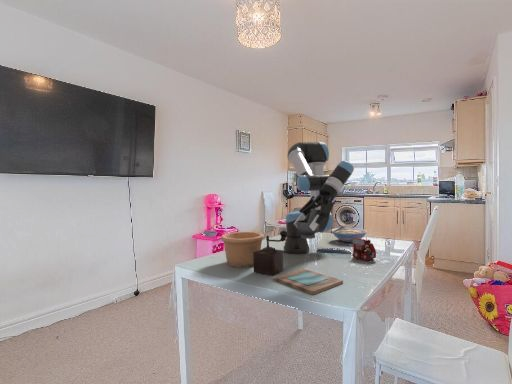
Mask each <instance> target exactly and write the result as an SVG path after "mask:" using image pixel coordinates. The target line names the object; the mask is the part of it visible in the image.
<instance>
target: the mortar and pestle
mask: <svg viewBox="0 0 512 384" xmlns="http://www.w3.org/2000/svg"><path fill="white" fill-rule="evenodd" d="M316 212H317V210H316V209H311V213H310V216H309V219H308V220H300V221H297V229H298V231H299V232H300V233H301V238H304V239H307V240H309V239H315V238H316V232H317V231H318V229H319V224H318V226H317V227H316V229H315V230H314V231H312V230H311V228H310V227H309V226H310V224H311V223H312V222H313V220H314V219H315V215H316Z"/></svg>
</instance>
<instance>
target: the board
mask: <svg viewBox="0 0 512 384" xmlns="http://www.w3.org/2000/svg"><path fill="white" fill-rule="evenodd" d="M272 277H273V278H272V280H273V281H275V280H276V281H275V282H278V283H280V282H281V284H283V283H284V284H283V285H286V286H289V287H291V288H294V289H297V290H300V291H302V292H305V293H307V294H311V295H316V294H319V293H322V292H324V291H326V290H329V289H332V288H335V287H337V286H340V285H342V284H344V280H342V279H339V278H337V277H332V276H330V275H327V274H323V273H320V272H315V271H312V270H308V269H305V268H300V269H296V270H292V271H289V272H287V273H283V274H280V275H276V276H275V275H274V276H272Z"/></svg>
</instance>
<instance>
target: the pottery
mask: <svg viewBox="0 0 512 384" xmlns="http://www.w3.org/2000/svg"><path fill="white" fill-rule="evenodd" d="M264 239H265V235H264V234H263V233H261V232H256V231H234V232H227V233H224V234H222V235H221V236H220V240H221V241H222V242H223V246H224V253H225V258H226V264H227V265H228V266H229V267H232V266H233V268H239V267H241V268H252V267H254V262H253V252H256V251H259V250H262V242H263V240H264ZM251 266H252V267H251Z"/></svg>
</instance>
